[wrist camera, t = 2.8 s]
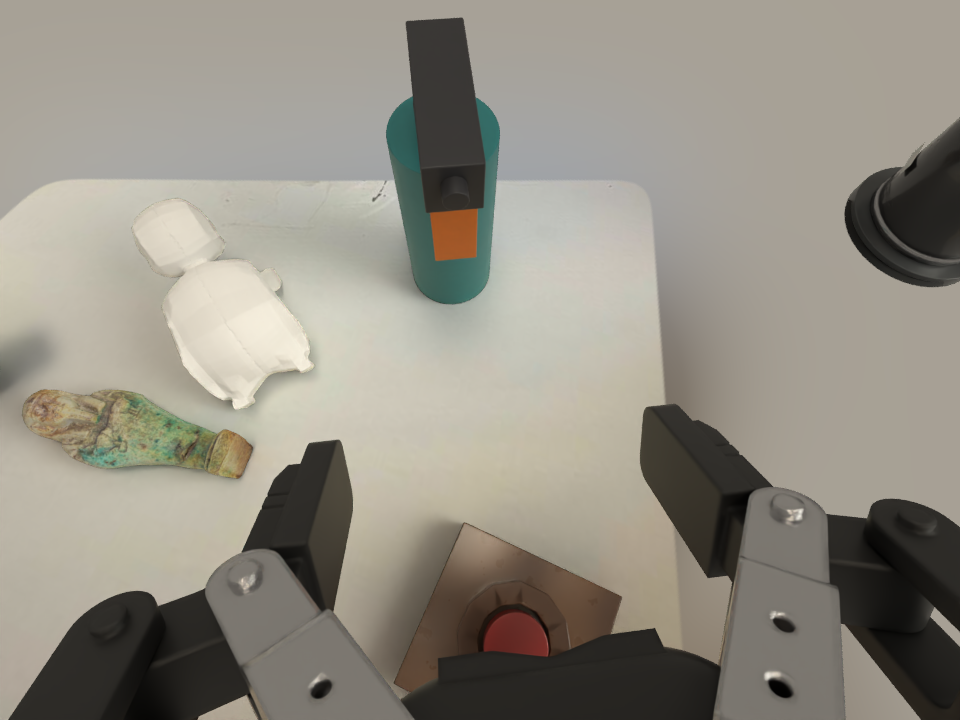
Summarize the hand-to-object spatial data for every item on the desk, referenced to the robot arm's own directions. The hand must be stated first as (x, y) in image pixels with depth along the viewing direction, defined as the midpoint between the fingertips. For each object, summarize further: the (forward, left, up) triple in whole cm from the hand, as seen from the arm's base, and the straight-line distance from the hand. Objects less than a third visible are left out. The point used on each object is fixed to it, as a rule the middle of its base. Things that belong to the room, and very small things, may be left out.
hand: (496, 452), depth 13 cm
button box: (-5, +6, -24) cm, 25 cm away
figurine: (+24, +5, -24) cm, 34 cm away
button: (-5, +6, -20) cm, 22 cm away
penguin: (+23, -6, -24) cm, 34 cm away
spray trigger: (+7, -12, -12) cm, 19 cm away
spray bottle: (+9, -15, -24) cm, 29 cm away
